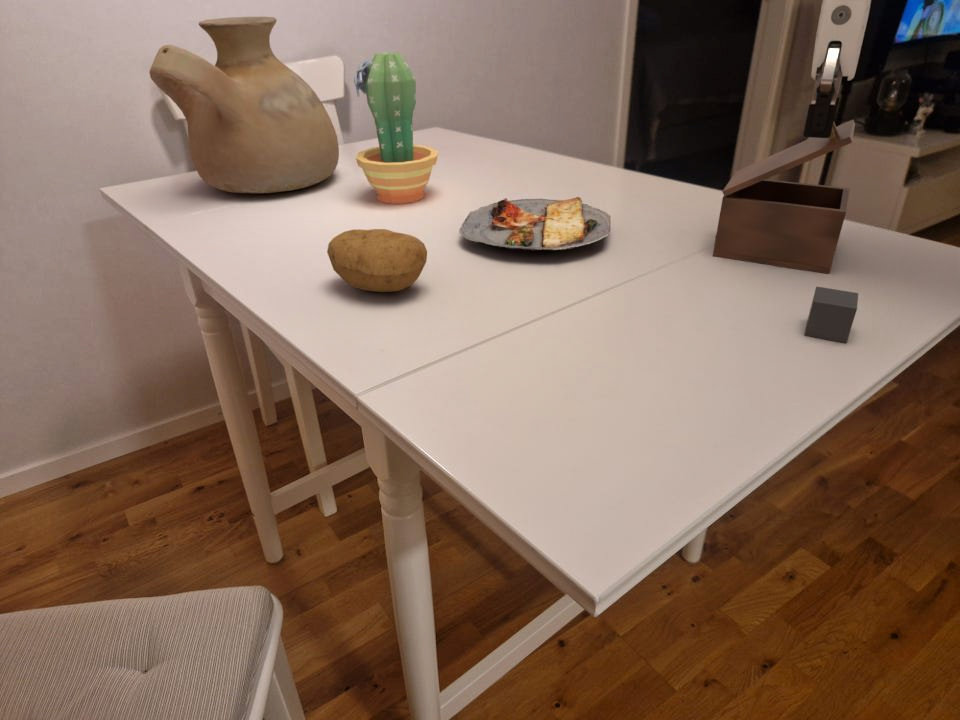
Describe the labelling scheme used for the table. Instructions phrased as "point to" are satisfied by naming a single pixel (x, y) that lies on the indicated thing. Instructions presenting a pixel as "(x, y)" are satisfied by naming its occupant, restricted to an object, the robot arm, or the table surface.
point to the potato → (377, 259)
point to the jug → (248, 111)
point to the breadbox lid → (790, 157)
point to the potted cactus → (393, 131)
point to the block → (831, 314)
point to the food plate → (537, 224)
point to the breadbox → (782, 224)
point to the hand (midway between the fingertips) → (818, 131)
